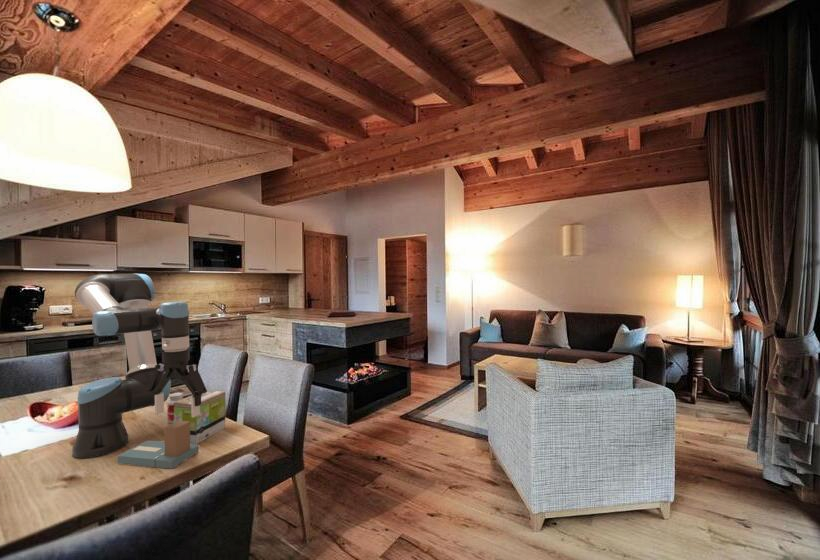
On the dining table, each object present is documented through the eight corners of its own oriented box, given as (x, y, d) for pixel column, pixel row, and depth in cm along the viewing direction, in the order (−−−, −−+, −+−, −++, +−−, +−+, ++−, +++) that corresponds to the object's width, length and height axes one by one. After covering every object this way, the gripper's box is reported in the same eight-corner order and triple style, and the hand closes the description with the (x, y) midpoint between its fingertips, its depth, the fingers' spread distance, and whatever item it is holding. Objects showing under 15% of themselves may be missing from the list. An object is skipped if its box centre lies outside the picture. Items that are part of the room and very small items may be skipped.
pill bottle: (164, 422, 151) (164, 395, 150) (180, 417, 156) (179, 391, 156) (173, 425, 148) (172, 397, 147) (188, 419, 153) (188, 393, 153)
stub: (155, 466, 115) (154, 431, 115) (183, 450, 126) (182, 417, 126) (172, 468, 114) (171, 432, 114) (198, 451, 125) (198, 418, 125)
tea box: (197, 445, 130) (196, 404, 130) (173, 443, 132) (172, 402, 132) (226, 427, 145) (225, 390, 144) (204, 426, 147) (203, 389, 146)
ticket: (117, 463, 118) (117, 455, 118) (147, 447, 129) (147, 440, 128) (154, 467, 115) (154, 459, 115) (182, 450, 126) (182, 443, 126)
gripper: (132, 351, 118) (134, 417, 118) (200, 352, 113) (202, 421, 113) (153, 346, 125) (154, 408, 125) (217, 348, 121) (219, 412, 121)
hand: (177, 414), depth 119 cm, fingers open, 13 cm apart
